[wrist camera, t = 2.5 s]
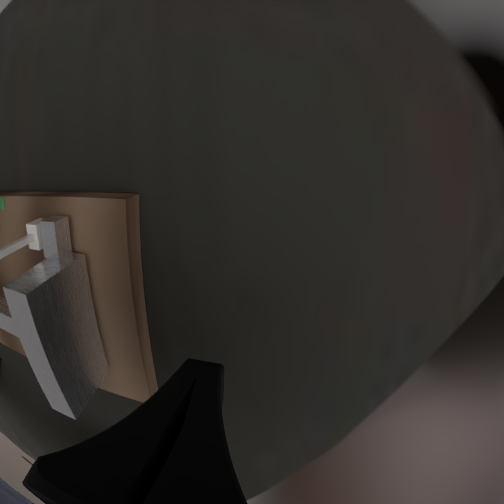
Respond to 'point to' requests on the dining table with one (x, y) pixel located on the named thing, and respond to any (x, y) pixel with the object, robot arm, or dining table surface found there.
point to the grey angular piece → (57, 321)
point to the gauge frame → (93, 274)
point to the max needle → (26, 239)
